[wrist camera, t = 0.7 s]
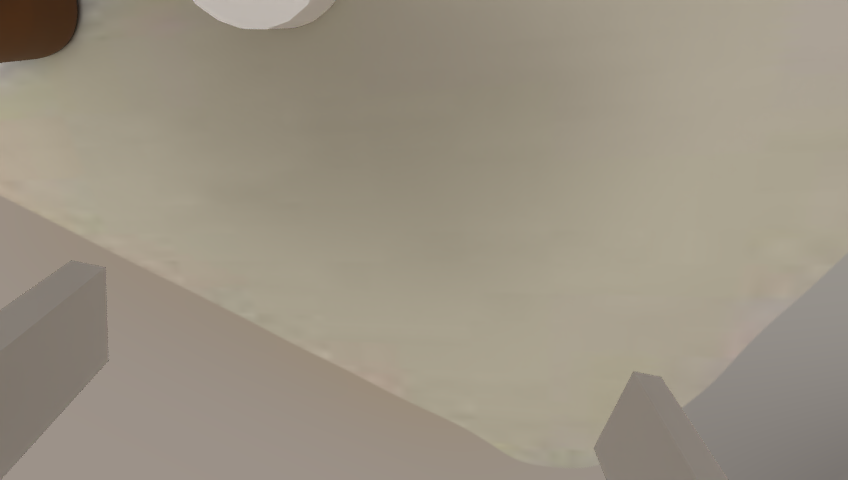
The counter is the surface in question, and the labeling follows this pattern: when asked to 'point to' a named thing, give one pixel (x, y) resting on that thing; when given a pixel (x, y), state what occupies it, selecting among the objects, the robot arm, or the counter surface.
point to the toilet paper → (265, 12)
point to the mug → (35, 27)
